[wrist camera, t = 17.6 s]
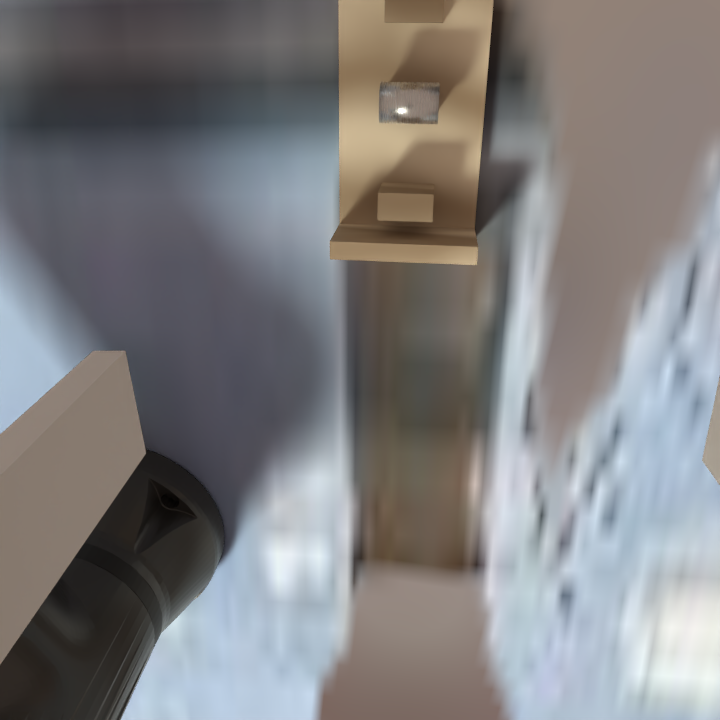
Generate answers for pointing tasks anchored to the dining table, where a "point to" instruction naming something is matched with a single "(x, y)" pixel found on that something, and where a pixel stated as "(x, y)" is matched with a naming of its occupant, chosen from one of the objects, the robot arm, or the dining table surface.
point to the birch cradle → (411, 128)
